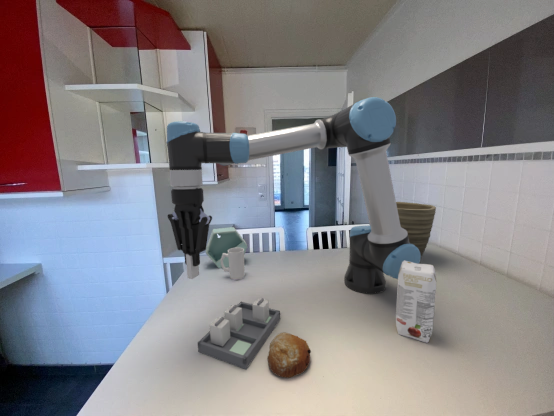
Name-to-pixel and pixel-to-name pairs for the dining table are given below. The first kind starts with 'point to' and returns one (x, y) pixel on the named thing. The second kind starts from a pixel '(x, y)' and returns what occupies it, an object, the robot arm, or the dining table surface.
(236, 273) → the mug
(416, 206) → the vase
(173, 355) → the dining table surface
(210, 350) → the switch bank
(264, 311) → the tab far
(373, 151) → the robot arm
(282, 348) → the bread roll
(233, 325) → the tab mid
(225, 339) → the tab near
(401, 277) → the juice carton
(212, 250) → the planter
